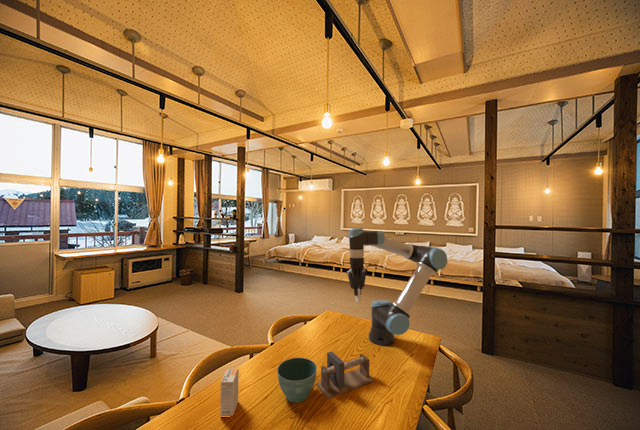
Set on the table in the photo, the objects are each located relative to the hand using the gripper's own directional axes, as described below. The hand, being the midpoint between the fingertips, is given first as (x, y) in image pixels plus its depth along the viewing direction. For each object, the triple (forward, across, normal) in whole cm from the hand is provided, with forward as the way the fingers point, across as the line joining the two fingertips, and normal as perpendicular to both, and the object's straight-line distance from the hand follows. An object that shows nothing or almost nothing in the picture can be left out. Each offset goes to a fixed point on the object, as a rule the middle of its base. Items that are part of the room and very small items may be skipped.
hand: (357, 301), depth 134 cm
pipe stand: (+28, +20, +15) cm, 38 cm away
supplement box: (+27, +67, +4) cm, 73 cm away
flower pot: (+28, +42, +10) cm, 51 cm away
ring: (+25, +26, +14) cm, 39 cm away
